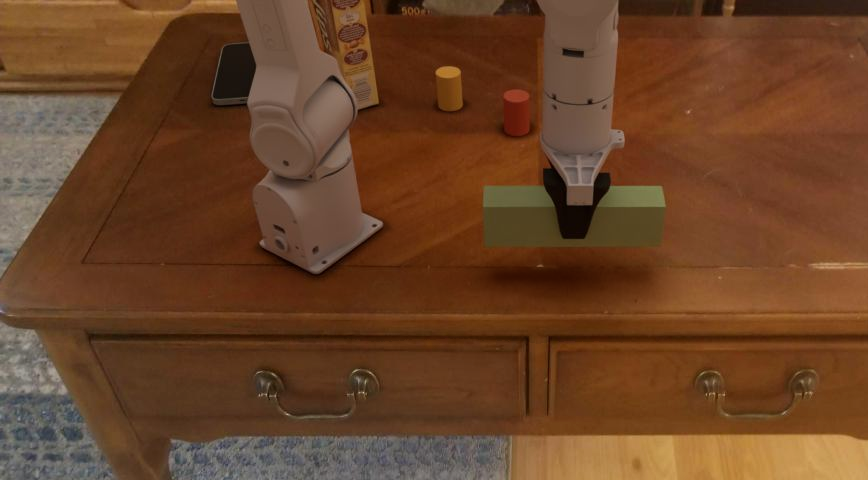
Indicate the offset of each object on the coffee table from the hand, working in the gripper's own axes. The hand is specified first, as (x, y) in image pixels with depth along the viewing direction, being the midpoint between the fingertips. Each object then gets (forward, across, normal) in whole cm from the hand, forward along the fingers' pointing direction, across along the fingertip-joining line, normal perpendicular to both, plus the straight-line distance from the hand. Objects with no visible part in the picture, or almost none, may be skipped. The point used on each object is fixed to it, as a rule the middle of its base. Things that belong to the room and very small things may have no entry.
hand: (572, 224), depth 76 cm
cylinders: (+6, +29, +9) cm, 31 cm away
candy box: (+6, +35, +26) cm, 44 cm away
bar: (+1, 0, 0) cm, 1 cm away
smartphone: (+6, +40, +40) cm, 56 cm away
